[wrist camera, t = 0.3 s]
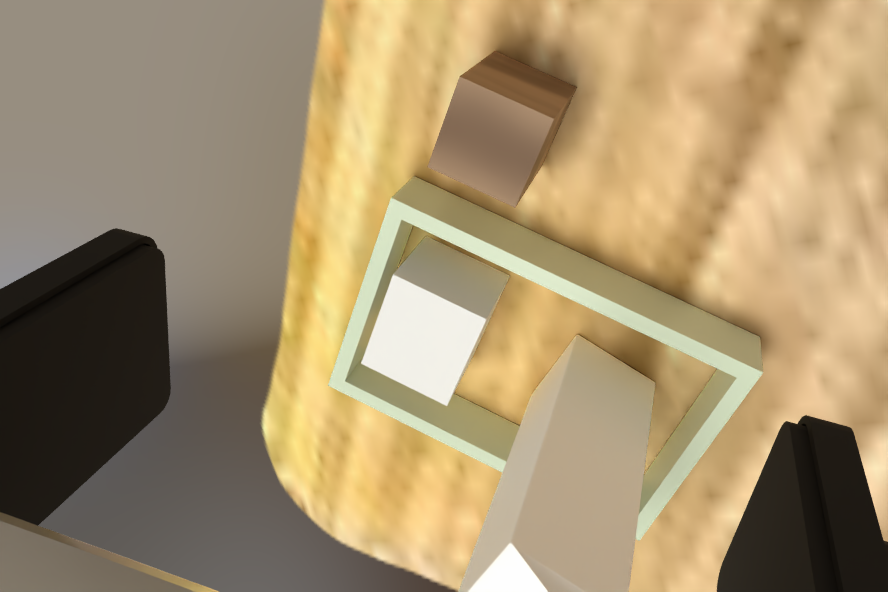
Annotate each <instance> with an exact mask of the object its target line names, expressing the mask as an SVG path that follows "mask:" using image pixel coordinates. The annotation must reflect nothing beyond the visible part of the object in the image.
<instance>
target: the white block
mask: <svg viewBox="0 0 888 592" xmlns="http://www.w3.org/2000/svg"><path fill="white" fill-rule="evenodd" d="M509 277H510V275H508V274H506V273H503V272H501V271H499V270H497V269H495V268H493V267H491V266H489V265H486V264H484V263H482V262H480V261H478V260H476V259H474V258H472V257H470V256H467V255H465V254H463V253H461V252H459V251H457V250H455V249H453V248H451V247H448V246H446V245H444V244H442V243H440V242H438V241H436V240H434V239H431V238H429V237H427V236H425V237H424V238H423V240H422V241H421V242H420V243H419V244H418V246H417V247H416V248H415V249H414V250H413V251H412V253H411V254H410V255H409V256H408V257H407V259H406V260H405V261H404V262H403V263H402V264H401V266H400V267H399V268H398V269H397V270H396V272H395V273H394V274H393V276H392V279H391V282H390V284H389V287H388V290H387V293H386V296H385V298H384V301H383V304H382V307H381V309H380V312H379V315H378V318H377V321H376V323H375V326H374V329H373V332H372V334H371V337H370V340H369V343H368V346H367V348H366V351H365V354H364V357H363V360H362V362H361V364H363V365H365V366H367V367H369V368H371V369H373V370H375V371H377V372H379V373H381V374H383V375H385V376H387V377H389V378H391V379H393V380H395V381H397V382H399V383H401V384H403V385H405V386H407V387H409V388H411V389H413V390H415V391H417V392H419V393H421V394H423V395H425V396H427V397H429V398H432V399H434V400H436V401H438V402H440V403H442V404H444V405H446V406H447V405H448V403H449V401H450V399H451V397H452V395H453V394H454V392H455V390H456V388H457V386H458V384H459V382H460V380H461V378H462V377H463V375H464V373H465V371H466V369H467V367H468V365H469V363H470V361H471V359H472V358H473V355H474V353H475V351H476V349H477V347H478V345H479V342H480V340H481V338H482V336H483V334H484V331H485V329H486V327H487V325H488V323H489V321H490V318H491V316H492V314H493V312H494V310H495V308H496V305H497V303H498V301H499V299H500V297H501V294H502V292H503V290H504V288H505V286H506V284H507V281H508V279H509Z"/></svg>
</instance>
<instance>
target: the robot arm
mask: <svg viewBox="0 0 888 592" xmlns="http://www.w3.org/2000/svg"><path fill="white" fill-rule="evenodd" d="M165 280H166V279H165V260H164V255H163V253H162V251H160V250H159V249H157V245H156V243H155V241H154V240H153V239H152V238H150V237H147V236H144V235H140V234H136V233H132V232H129V231H125V230H122V229H112V230H110V231H108V232H106V233H104V234H102V235H100V236H98V237H97V238H95V239H93V240H91V241H89V242H87V243H85V244H83V245H82V246H80V247H78V248H76V249H74V250H72V251H71V252H69V253H67V254H65V255H63V256H61V257H59V258H57V259H56V260H54V261H52V262H50V263H48V264H46V265H44V266H43V267H41V268H39V269H37V270H35V271H33V272H31V273H30V274H28V275H26V276H24V277H23V278H20V279H18V280H16V281H15V282H13V283H11V284H9V285H8V286H5V287H4V288H2V289H0V592H219V591H216V590H213V589H210V588H208V587H205V586H202V585H200V584H197V583H194V582H191V581H188V580H186V579H183V578H180V577H178V576H175V575H172V574H170V573H167V572H164V571H161V570H159V569H156V568H153V567H150V566H148V565H145V564H142V563H140V562H136V561H134V560H131V559H129V558H126V557H123V556H120V555H117V554H115V553H112V552H109V551H107V550H104V549H101V548H98V547H96V546H93V545H90V544H87V543H84V542H81V541H79V540H76V539H73V538H70V537H68V536H65V535H62V534H59V533H57V532H54V531H51V530H48V529H46V528H43V527H40V526H38V525H39V524H40V523H41V522H42V521H43V520H44V519H45V518H46V517H48V516H49V515H50V514H51V513H52V512H53V511H54V510H55V509H56V508H58V507H59V506H60V505H61V504H62V503H63V502H64V501H65V500H66V499H67V498H68V497H69V496H70V495H72V494H73V493H74V492H75V491H76V490H77V489H78V488H79V487H80V486H81V485H82V484H84V483H85V482H86V481H87V480H88V479H89V478H90V477H91V476H92V475H93V474H94V473H96V471H98V470H99V469H100V468H101V467H102V466H103V465H104V464H105V463H106V462H108V460H110V459H111V458H112V457H113V456H114V455H115V454H116V453H117V452H118V451H119V450H121V449H122V448H123V447H124V446H125V445H126V444H127V443H128V442H129V441H130V440H131V439H133V438H134V437H135V436H136V435H137V434H138V433H139V432H140V431H141V430H142V429H143V428H144V427H145V426H147V425H148V424H149V423H150V422H151V421H152V420H153V419H154V418H155V417H156V416H157V415H159V414H160V413H161V411H162V410H163V409H164V408H165V406H166V404H167V402H168V400H169V396H170V389H171V387H170V366H169V344H168V323H167V302H166V281H165ZM717 592H888V542H886V541H883V537H882V534H881V530H880V526H879V523H878V519H877V516H876V512H875V508H874V505H873V501H872V497H871V494H870V490H869V487H868V483H867V479H866V476H865V472H864V469H863V465H862V461H861V458H860V454H859V450H858V447H857V443H856V440H855V436H854V433H853V431H852V429H851V428H850V427H847V426H843V425H840V424H836V423H832V422H829V421H825V420H821V419H818V418H814V417H810V416H807V415H805V416H803V417H802V418H801V419H800V421H799V422H798V424H795V423H791V422H787V421H786V422H784V424H783V425H782V427H781V429H780V431H779V433H778V435H777V437H776V440H775V442H774V444H773V447H772V449H771V451H770V454H769V456H768V458H767V461H766V463H765V465H764V468H763V470H762V472H761V475H760V477H759V479H758V482H757V484H756V486H755V489H754V491H753V493H752V496H751V498H750V500H749V503H748V505H747V507H746V509H745V512H744V514H743V516H742V519H741V521H740V523H739V526H738V528H737V530H736V533H735V535H734V537H733V540H732V542H731V544H730V547H729V549H728V551H727V554H726V556H725V558H724V561H723V563H722V566H721V569H720V573H719V578H718V584H717Z"/></svg>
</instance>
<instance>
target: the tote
mask: <svg viewBox="0 0 888 592" xmlns="http://www.w3.org/2000/svg"><path fill="white" fill-rule="evenodd" d="M413 225H414V226H416V227H418V228H420V229H423V230H425V231H427V232H429V233H431V234H433V235H435V236H437V237H440V238H442V239H444V240H446V241H448V242H450V243H452V244H454V245H456V246H459V247H461V248H463V249H465V250H467V251H469V252H471V253H473V254H476V255H478V256H480V257H482V258H484V259H486V260H488V261H490V262H492V263H495V264H497V265H499V266H501V267H503V268H505V269H507V270H509V271H512V272H514V273H516V274H518V275H520V276H522V277H524V278H526V279H529V280H531V281H533V282H535V283H537V284H539V285H541V286H543V287H545V288H548V289H550V290H552V291H554V292H556V293H558V294H560V295H562V296H565V297H567V298H569V299H571V300H573V301H575V302H577V303H579V304H581V305H584V306H586V307H588V308H590V309H592V310H594V311H596V312H598V313H601V314H603V315H605V316H607V317H609V318H611V319H613V320H615V321H617V322H620V323H622V324H624V325H626V326H628V327H630V328H632V329H634V330H637V331H639V332H641V333H643V334H645V335H647V336H649V337H651V338H654V339H656V340H658V341H660V342H662V343H664V344H666V345H668V346H670V347H673V348H675V349H677V350H679V351H681V352H683V353H685V354H687V355H690V356H692V357H694V358H696V359H698V360H700V361H702V362H704V363H706V364H709V365H711V366H713V367H715V368H717V370H716V371H715V373H714V374H713V376H712V377H711V379H710V380H709V382H708V383H707V384H706V386H705V387H704V389H703V390H702V392H701V393H700V395H699V396H698V397H697V399H696V400H695V402H694V403H693V405H692V406H691V408H690V409H689V411H688V412H687V413H686V415H685V416H684V418H683V419H682V421H681V422H680V424H679V425H678V426H677V428H676V429H675V431H674V432H673V434H672V435H671V437H670V438H669V439H668V441H667V442H666V444H665V445H664V447H663V448H662V450H661V451H660V452H659V454H658V455H657V457H656V458H655V460H654V461H653V463H652V464H651V465H650V467H649V468H648V470H647V471H646V473H645V474H644V477H643V484H642V492H641V500H640V507H639V515H638V523H637V530H636V538H635V539H637V540H639V541H640V539H641V538H642V536H643V535H644V534H645V532H646V531H647V530H648V528H649V527H650V526H651V524H652V523H653V522H654V520H655V519H656V517H657V516H658V515H659V513H660V512H661V511H662V509H663V508H664V507H665V505H666V504H667V503H668V501H669V500H670V498H671V497H672V496H673V494H674V493H675V492H676V490H677V489H678V488H679V486H680V485H681V484H682V482H683V481H684V479H685V478H686V477H687V475H688V474H689V473H690V471H691V470H692V469H693V467H694V466H695V465H696V463H697V462H698V460H699V459H700V458H701V456H702V455H703V454H704V452H705V451H706V450H707V448H708V447H709V446H710V444H711V443H712V441H713V440H714V439H715V437H716V436H717V435H718V433H719V432H720V431H721V429H722V428H723V427H724V425H725V424H726V422H727V421H728V420H729V418H730V417H731V416H732V414H733V413H734V412H735V410H736V409H737V408H738V406H739V405H740V403H741V402H742V401H743V399H744V398H745V397H746V395H747V394H748V393H749V391H750V390H751V389H752V387H753V386H754V384H755V383H756V382H757V380H758V379H759V378H760V376H761V375H762V374H763V364H762V353H761V342H760V337H759V336H757V335H755V334H753V333H750V332H748V331H746V330H744V329H742V328H740V327H737V326H735V325H733V324H731V323H729V322H727V321H725V320H722V319H720V318H718V317H716V316H714V315H712V314H710V313H707V312H705V311H703V310H701V309H699V308H697V307H695V306H692V305H690V304H688V303H686V302H684V301H682V300H679V299H677V298H675V297H673V296H671V295H669V294H667V293H664V292H662V291H660V290H658V289H656V288H654V287H652V286H649V285H647V284H645V283H643V282H641V281H639V280H637V279H634V278H632V277H630V276H628V275H626V274H624V273H621V272H619V271H617V270H615V269H613V268H611V267H609V266H606V265H604V264H602V263H600V262H598V261H596V260H594V259H591V258H589V257H587V256H585V255H583V254H581V253H579V252H576V251H574V250H572V249H570V248H568V247H566V246H563V245H561V244H559V243H557V242H555V241H553V240H551V239H548V238H546V237H544V236H542V235H540V234H538V233H536V232H533V231H531V230H529V229H527V228H525V227H523V226H520V225H518V224H516V223H514V222H512V221H510V220H508V219H505V218H503V217H501V216H499V215H497V214H495V213H493V212H490V211H488V210H486V209H484V208H482V207H480V206H478V205H475V204H473V203H471V202H469V201H467V200H465V199H462V198H460V197H458V196H456V195H454V194H452V193H450V192H447V191H445V190H443V189H441V188H439V187H437V186H435V185H432V184H430V183H428V182H426V181H424V180H422V179H420V178H417V177H415V176H414V177H413V178H411V179H410V180H409V181H408V182H407V183H406V184H405V185H404V186H403V187H402V188H401V189H400V190H399V191H398V192H397V193H396V194H395V195H394V196H392V197H391V200H390V203H389V206H388V209H387V212H386V215H385V217H384V220H383V223H382V226H381V229H380V232H379V235H378V238H377V241H376V244H375V247H374V250H373V253H372V256H371V259H370V262H369V265H368V268H367V271H366V274H365V277H364V280H363V283H362V286H361V289H360V292H359V295H358V298H357V301H356V304H355V307H354V310H353V313H352V316H351V319H350V322H349V325H348V328H347V331H346V334H345V337H344V340H343V343H342V346H341V349H340V352H339V354H338V357H337V360H336V363H335V366H334V369H333V372H332V375H331V378H330V381H329V384H328V386H330V387H332V388H334V389H336V390H338V391H340V392H342V393H344V394H346V395H348V396H350V397H352V398H354V399H356V400H358V401H360V402H362V403H364V404H366V405H368V406H370V407H372V408H374V409H376V410H378V411H380V412H382V413H384V414H386V415H388V416H390V417H392V418H394V419H396V420H398V421H400V422H402V423H404V424H406V425H408V426H410V427H412V428H414V429H416V430H418V431H420V432H422V433H424V434H426V435H428V436H430V437H432V438H434V439H436V440H438V441H440V442H442V443H444V444H446V445H448V446H450V447H452V448H454V449H456V450H458V451H460V452H462V453H464V454H466V455H468V456H470V457H472V458H474V459H476V460H478V461H480V462H482V463H484V464H486V465H488V466H490V467H492V468H494V469H496V470H498V471H500V472H502V473H503V470H504V467H505V465H506V462H507V459H508V457H509V454H510V451H511V448H512V446H513V443H514V440H515V438H516V435H517V432H518V430H519V427H520V426H519V425H517V424H515V423H513V422H510V421H508V420H506V419H504V418H502V417H500V416H498V415H496V414H494V413H492V412H490V411H488V410H486V409H484V408H482V407H480V406H478V405H476V404H474V403H472V402H470V401H468V400H466V399H464V398H462V397H460V396H458V395H456V394H453V395H452V397H451V399H450V401H449V403H448V405H447V406H446V405H444V404H442V403H440V402H438V401H436V400H434V399H432V398H429V397H427V396H425V395H423V394H421V393H419V392H417V391H415V390H413V389H411V388H409V387H407V386H405V385H403V384H401V383H399V382H397V381H395V380H393V379H391V378H389V377H387V376H385V375H383V374H381V373H379V372H377V371H375V370H373V369H371V368H369V367H367V366H365V365H363V364H361V362H362V360H363V357H364V354H365V351H366V348H367V346H368V343H369V340H370V337H371V334H372V332H373V329H374V326H375V323H376V321H377V318H378V315H379V312H380V309H381V307H382V304H383V301H384V298H385V296H386V293H387V290H388V287H389V284H390V282H391V279H392V276H393V274H394V273H395V272H396V270H397V269H398V266H399V263H400V260H401V257H402V255H403V252H404V249H405V246H406V244H407V241H408V238H409V235H410V233H411V230H412V227H413Z"/></svg>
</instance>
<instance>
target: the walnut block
mask: <svg viewBox="0 0 888 592" xmlns="http://www.w3.org/2000/svg"><path fill="white" fill-rule="evenodd" d="M576 88H577V87H575V86H573V85H571V84H568V83H566V82H564V81H562V80H559V79H557V78H555V77H553V76H550V75H548V74H546V73H544V72H541V71H539V70H537V69H535V68H532V67H530V66H528V65H526V64H523V63H521V62H519V61H517V60H514V59H512V58H510V57H508V56H505V55H503V54H501V53H499V52H496V51H494V52H493V53H492V54H490V55H489V56H487V57H486V58H485V59H483V60H482V61H481V62H479V63H478V64H476V65H475V66H474V67H472V68H471V69H469V70H468V71H467V72H465V73H464V74H463V75H461V76H460V77H459V80H458V83H457V86H456V88H455V91H454V94H453V97H452V100H451V102H450V105H449V108H448V111H447V114H446V116H445V119H444V122H443V125H442V128H441V130H440V133H439V136H438V139H437V142H436V144H435V147H434V150H433V153H432V156H431V158H430V161H429V164H428V167H429V168H431V169H433V170H435V171H437V172H439V173H441V174H444V175H446V176H448V177H450V178H452V179H454V180H457V181H459V182H461V183H463V184H465V185H467V186H469V187H472V188H474V189H476V190H478V191H480V192H482V193H485V194H487V195H489V196H491V197H493V198H495V199H497V200H500V201H502V202H504V203H506V204H508V205H510V206H513V207H516V206H517V204H518V202H519V201H520V199H521V198H522V196H523V195H524V193H525V191H526V190H527V188H528V187H529V185H530V184H531V182H532V181H533V179H534V177H535V176H536V174H537V173H538V171H539V170H540V168H541V167H542V164H543V162H544V160H545V158H546V155H547V153H548V151H549V149H550V146H551V144H552V142H553V140H554V137H555V135H556V133H557V131H558V128H559V126H560V124H561V122H562V119H563V117H564V115H565V113H566V110H567V108H568V106H569V104H570V101H571V99H572V97H573V95H574V93H575V90H576Z"/></svg>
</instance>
